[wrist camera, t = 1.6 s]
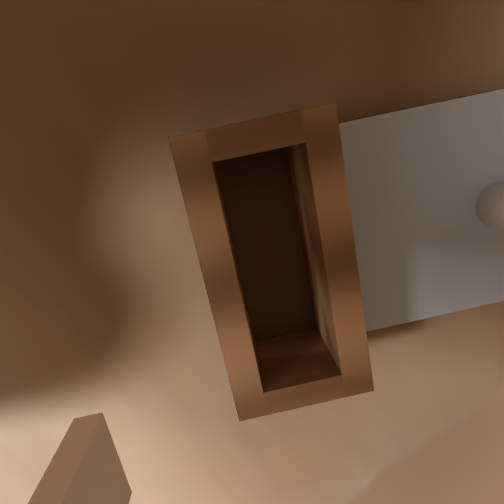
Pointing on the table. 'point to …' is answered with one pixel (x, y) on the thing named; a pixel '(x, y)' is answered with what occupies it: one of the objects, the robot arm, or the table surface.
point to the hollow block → (316, 256)
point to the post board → (427, 208)
